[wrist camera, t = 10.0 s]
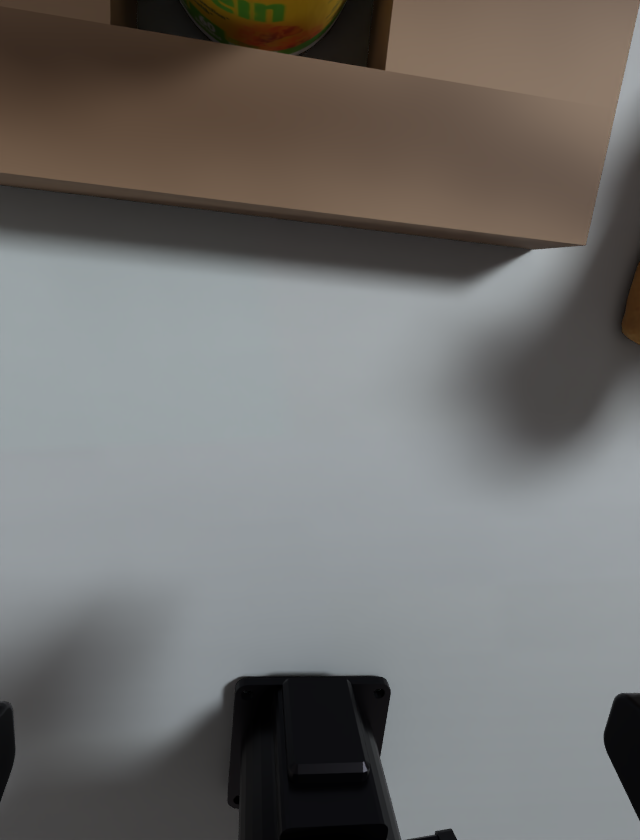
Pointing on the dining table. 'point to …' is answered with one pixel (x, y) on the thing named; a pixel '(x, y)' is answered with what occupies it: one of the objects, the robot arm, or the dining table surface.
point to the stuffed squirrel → (633, 310)
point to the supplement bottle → (265, 22)
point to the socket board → (327, 117)
